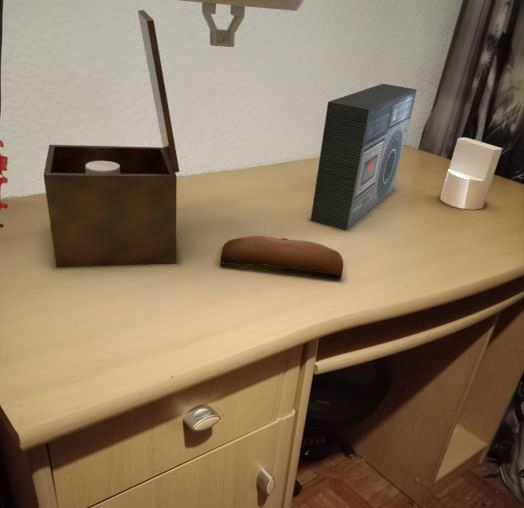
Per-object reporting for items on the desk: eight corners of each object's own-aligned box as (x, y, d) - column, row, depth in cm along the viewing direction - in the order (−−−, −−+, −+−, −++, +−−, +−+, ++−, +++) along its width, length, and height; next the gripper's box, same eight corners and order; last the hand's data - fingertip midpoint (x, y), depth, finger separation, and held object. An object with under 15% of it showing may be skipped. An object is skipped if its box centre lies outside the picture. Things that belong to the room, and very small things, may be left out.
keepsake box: (56, 267, 75) (43, 174, 68) (59, 228, 86) (49, 144, 78) (176, 263, 79) (176, 176, 72) (165, 226, 90) (165, 147, 83)
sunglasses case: (338, 254, 86) (346, 228, 80) (337, 292, 83) (344, 268, 77) (226, 241, 86) (225, 214, 80) (220, 279, 83) (219, 254, 77)
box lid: (146, 20, 61) (153, 19, 61) (137, 10, 72) (143, 9, 72) (173, 173, 72) (179, 172, 72) (162, 144, 82) (167, 143, 82)
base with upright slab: (431, 197, 115) (447, 139, 109) (456, 192, 120) (473, 136, 114) (467, 212, 110) (486, 151, 103) (491, 205, 115) (511, 147, 108)
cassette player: (346, 230, 96) (369, 109, 84) (310, 220, 98) (328, 101, 87) (393, 189, 118) (416, 89, 106) (363, 182, 120) (383, 83, 109)
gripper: (303, -78, 68) (290, 48, 76) (136, -100, 63) (141, 37, 70) (320, -80, 63) (304, 54, 71) (140, -105, 58) (145, 43, 65)
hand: (221, 46), depth 71 cm, fingers closed
